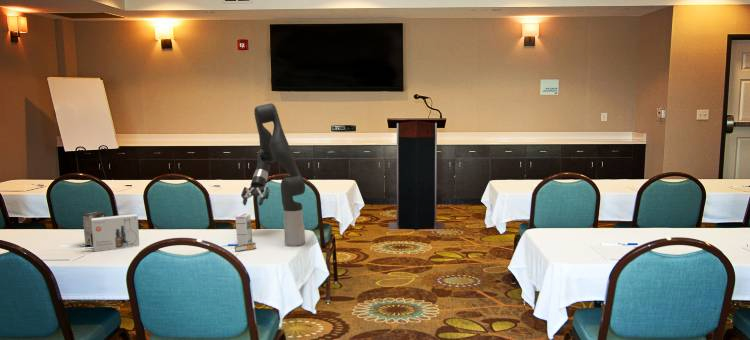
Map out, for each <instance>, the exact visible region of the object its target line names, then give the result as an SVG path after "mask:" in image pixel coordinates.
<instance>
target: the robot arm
mask: <svg viewBox="0 0 750 340" xmlns="http://www.w3.org/2000/svg"><path fill="white" fill-rule="evenodd" d="M254 119H255V123H256V128H257V133H258V137H259V148H260V149H259V150H258V151H257V153H256V156H257V157H256V158H257V163H256V168H255V171H254V173H253V176H252V179H251V183H250V185H249V187H246V186H245V187H243V189H242V192H241V194H240V197H241V198H242V204H243V206H246V205H247V203H248V199H249V198H252V197H259V201H258V205H259V206H260V207H261V206H262V205H263V204H264V200H265V199H266V200H268V199H269V196H270V189H269V187H266V185H267V181H268V179H269V173H270V169H271V165H270V164H269V163H275V162H277V163H278V164H279V165H280V166H282V168H284V170H286V172H287V173H288V175H289V177H284V178H282V179H281V181H280V194H281V204H282V208H283V225H284V226H283V228H284V244H285V246H289V247H296V246H302V245H303V244H305V243H306V231H305V229H306V228H305V223H304V219H303V217H304V216H303V215H304V214H303V204H302V203H301V202H298V201H295V200H294V197H295V196H302V195H304V193H305V192H306V184H305V181H304V179H303V176H302V174H301V172H300V170H299V167H298V166H297V164H296V161H295V159H294V156H293V154H292V151H291V148H290V145H289V142H288V140H287V137H286V135H285V132H284V129H283V127H282V124H281V120H280V117H279V114H278V110H277V107H276V106H275V104H274V103H271V102H270V103H266V104H261V105H257V106H255V108H254ZM271 122H272V123H273V130H272V133H271V131H270V130H268V128H266V127H265V126H264V124H267V123H271ZM263 193H264V194H263Z"/></svg>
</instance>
